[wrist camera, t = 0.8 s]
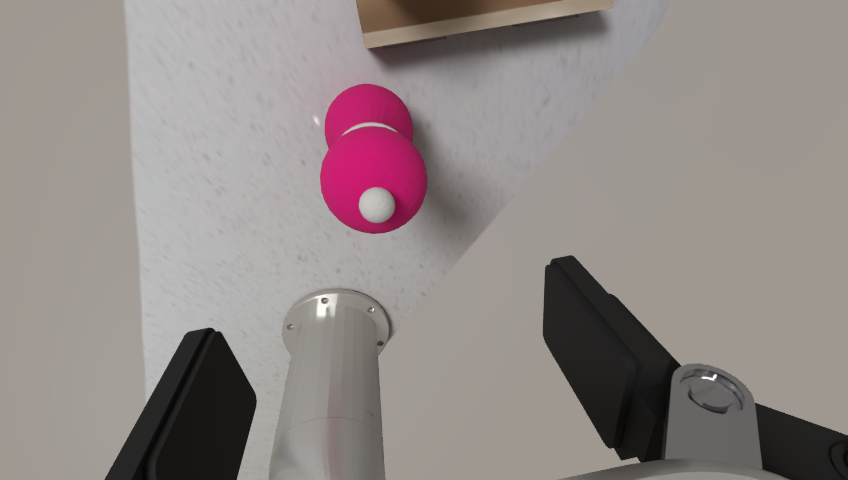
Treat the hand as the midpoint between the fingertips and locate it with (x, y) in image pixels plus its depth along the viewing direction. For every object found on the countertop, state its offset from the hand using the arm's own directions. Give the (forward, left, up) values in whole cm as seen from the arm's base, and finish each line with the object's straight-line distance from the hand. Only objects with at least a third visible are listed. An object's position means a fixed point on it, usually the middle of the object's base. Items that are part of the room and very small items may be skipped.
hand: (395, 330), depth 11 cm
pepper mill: (0, 0, -28) cm, 28 cm away
